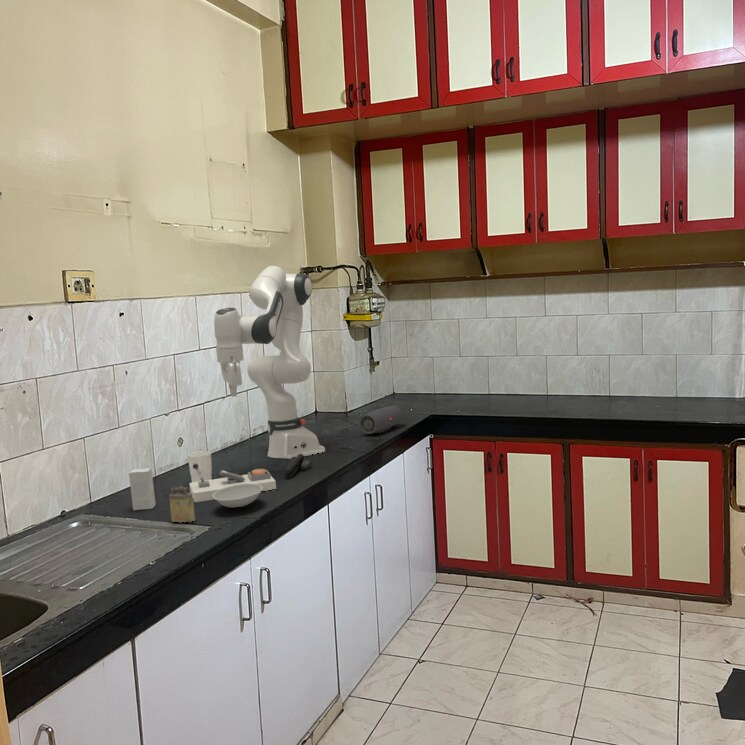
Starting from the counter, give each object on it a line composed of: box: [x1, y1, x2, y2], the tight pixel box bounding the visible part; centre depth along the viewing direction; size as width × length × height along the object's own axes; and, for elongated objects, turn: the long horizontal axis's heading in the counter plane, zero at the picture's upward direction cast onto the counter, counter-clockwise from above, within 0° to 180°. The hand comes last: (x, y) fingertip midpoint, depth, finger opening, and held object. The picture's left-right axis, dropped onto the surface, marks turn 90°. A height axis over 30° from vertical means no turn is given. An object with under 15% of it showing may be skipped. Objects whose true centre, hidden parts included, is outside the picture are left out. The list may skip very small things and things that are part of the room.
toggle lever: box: [193, 464, 204, 482], centre depth 239 cm, size 2×2×7 cm
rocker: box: [219, 469, 245, 482], centre depth 242 cm, size 8×4×1 cm, turn 109°
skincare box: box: [128, 467, 156, 511], centre depth 230 cm, size 6×4×12 cm
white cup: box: [187, 450, 213, 483], centre depth 257 cm, size 8×8×10 cm
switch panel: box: [189, 469, 277, 503], centre depth 243 cm, size 26×14×5 cm, turn 109°
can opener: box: [284, 454, 312, 479], centre depth 261 cm, size 18×7×6 cm, turn 164°
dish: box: [212, 484, 263, 509], centre depth 223 cm, size 18×14×5 cm
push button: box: [251, 468, 266, 476], centre depth 245 cm, size 4×4×2 cm
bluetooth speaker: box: [358, 405, 403, 435], centre depth 323 cm, size 23×9×10 cm, turn 148°
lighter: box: [168, 485, 196, 524], centre depth 213 cm, size 7×4×10 cm, turn 77°
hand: (233, 396), depth 254 cm, fingers closed
